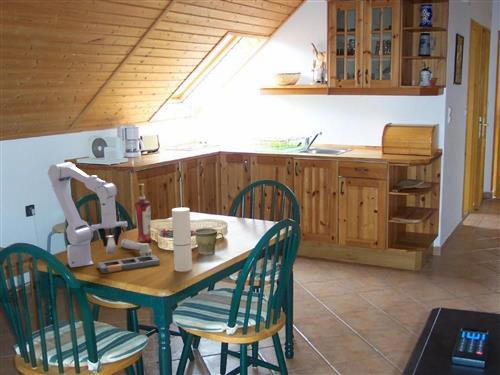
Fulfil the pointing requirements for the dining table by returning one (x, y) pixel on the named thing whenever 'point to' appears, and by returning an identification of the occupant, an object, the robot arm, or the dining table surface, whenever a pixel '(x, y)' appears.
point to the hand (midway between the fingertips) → (110, 245)
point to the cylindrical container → (182, 239)
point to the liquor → (143, 217)
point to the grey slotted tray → (128, 263)
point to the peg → (110, 244)
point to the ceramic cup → (206, 240)
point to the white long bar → (136, 246)
